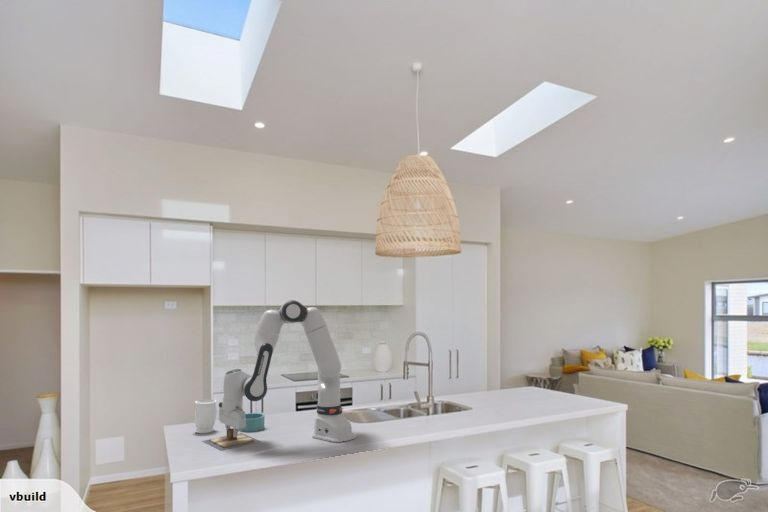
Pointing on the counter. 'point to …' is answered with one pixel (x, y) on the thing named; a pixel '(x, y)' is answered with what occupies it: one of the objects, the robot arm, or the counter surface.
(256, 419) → the bowl
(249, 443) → the mat
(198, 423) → the jar
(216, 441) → the lid
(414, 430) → the counter surface
